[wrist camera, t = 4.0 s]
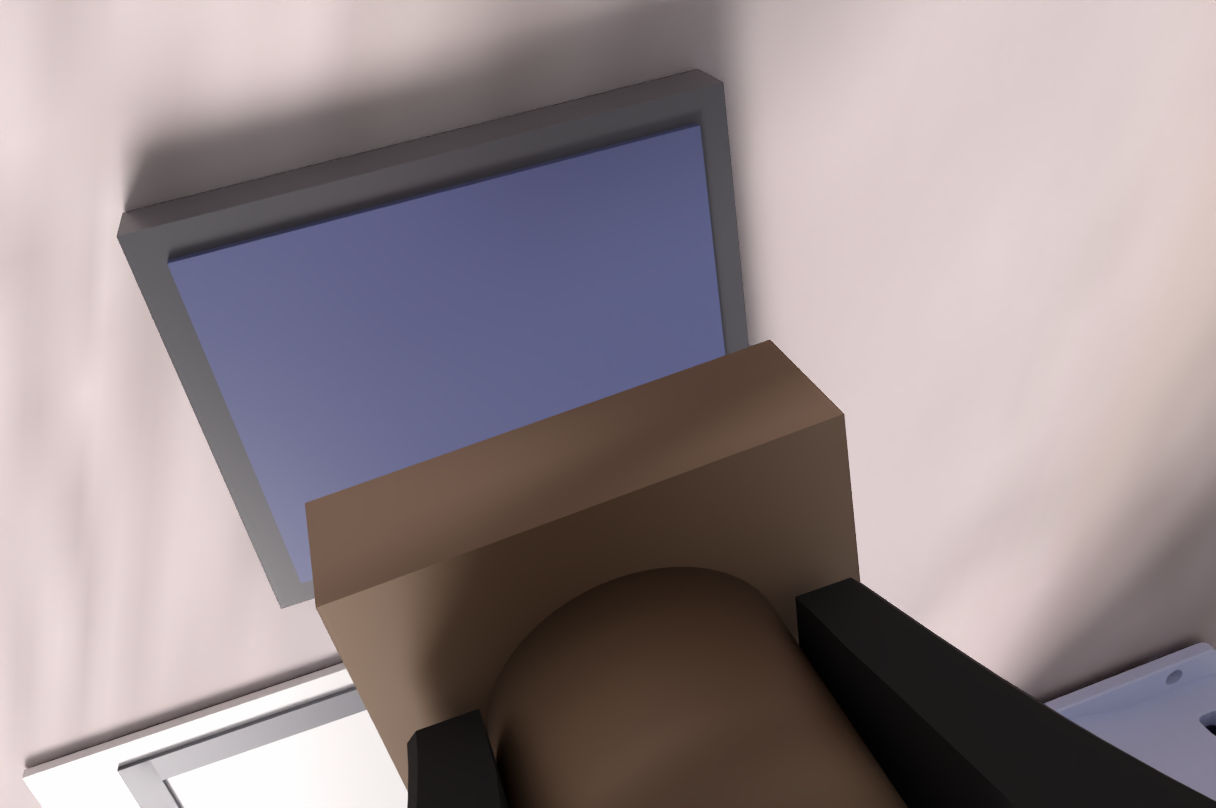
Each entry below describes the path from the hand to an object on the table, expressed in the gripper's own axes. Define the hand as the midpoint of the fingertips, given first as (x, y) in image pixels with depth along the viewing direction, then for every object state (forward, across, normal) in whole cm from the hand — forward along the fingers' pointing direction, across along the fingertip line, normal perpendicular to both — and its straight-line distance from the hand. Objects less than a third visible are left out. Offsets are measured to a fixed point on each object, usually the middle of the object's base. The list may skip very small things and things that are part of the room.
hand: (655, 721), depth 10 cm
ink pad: (+9, 0, 0) cm, 9 cm away
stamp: (+2, 0, 0) cm, 2 cm away
